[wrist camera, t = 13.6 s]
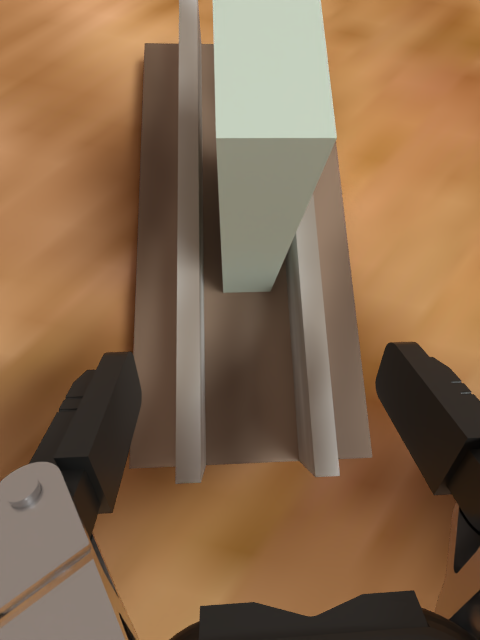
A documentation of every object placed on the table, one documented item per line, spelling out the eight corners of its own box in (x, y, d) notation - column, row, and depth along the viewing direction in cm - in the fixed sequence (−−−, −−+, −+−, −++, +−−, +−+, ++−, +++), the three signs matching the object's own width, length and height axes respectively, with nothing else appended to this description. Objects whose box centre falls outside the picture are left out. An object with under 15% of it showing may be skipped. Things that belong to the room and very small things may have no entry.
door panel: (223, 292, 17) (216, 138, 7) (219, 165, 19) (210, -120, 8) (270, 291, 18) (336, 138, 7) (262, 165, 19) (307, -116, 9)
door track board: (137, 461, 17) (106, 487, 12) (150, 66, 22) (131, -13, 18) (359, 451, 17) (404, 472, 13) (318, 67, 23) (340, -9, 19)
